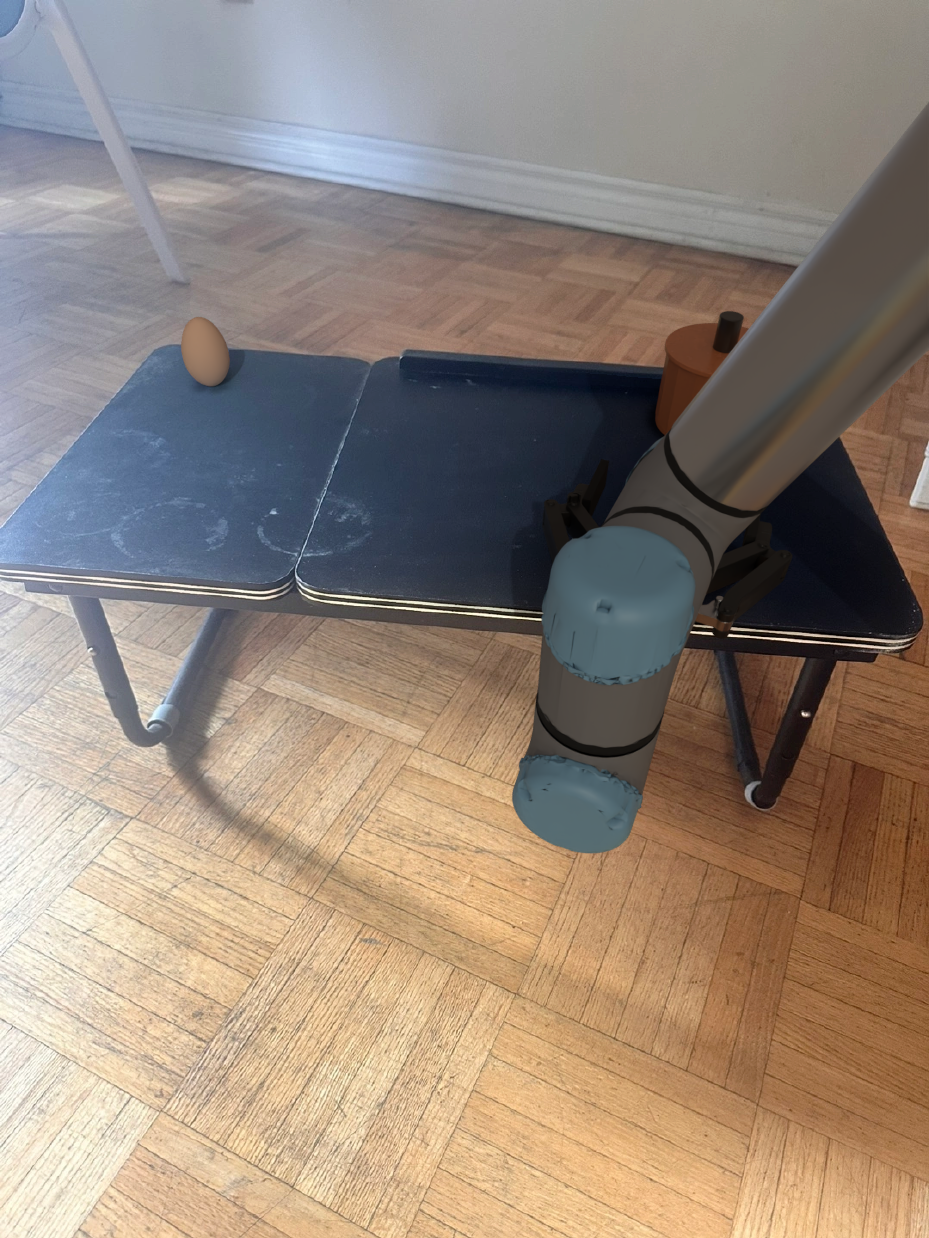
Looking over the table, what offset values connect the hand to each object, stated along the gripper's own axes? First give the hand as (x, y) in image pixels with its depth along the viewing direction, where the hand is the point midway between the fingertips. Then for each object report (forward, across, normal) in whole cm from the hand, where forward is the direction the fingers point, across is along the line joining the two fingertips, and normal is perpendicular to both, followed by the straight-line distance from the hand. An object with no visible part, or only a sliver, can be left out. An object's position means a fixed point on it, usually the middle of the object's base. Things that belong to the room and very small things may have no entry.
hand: (678, 487), depth 73 cm
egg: (+10, -57, -6) cm, 58 cm away
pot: (+23, 0, -6) cm, 24 cm away
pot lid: (+23, 0, +2) cm, 23 cm away
